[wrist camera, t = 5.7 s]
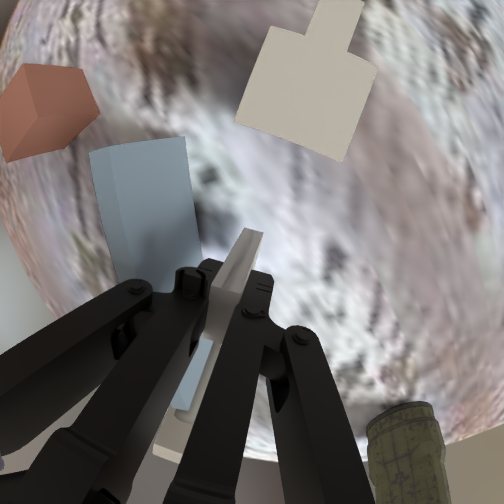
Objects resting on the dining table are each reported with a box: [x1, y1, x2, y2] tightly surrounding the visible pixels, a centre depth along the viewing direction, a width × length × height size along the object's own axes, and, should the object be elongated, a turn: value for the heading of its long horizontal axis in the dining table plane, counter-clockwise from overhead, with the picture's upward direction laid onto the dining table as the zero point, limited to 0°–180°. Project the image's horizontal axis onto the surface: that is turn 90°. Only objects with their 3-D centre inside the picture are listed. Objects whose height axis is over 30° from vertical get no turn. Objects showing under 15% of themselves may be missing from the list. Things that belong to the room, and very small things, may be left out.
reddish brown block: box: [0, 63, 100, 163], centre depth 12 cm, size 4×4×6 cm
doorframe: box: [153, 0, 379, 464], centre depth 14 cm, size 29×2×10 cm, turn 161°
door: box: [89, 137, 221, 424], centre depth 15 cm, size 16×1×8 cm, turn 5°
